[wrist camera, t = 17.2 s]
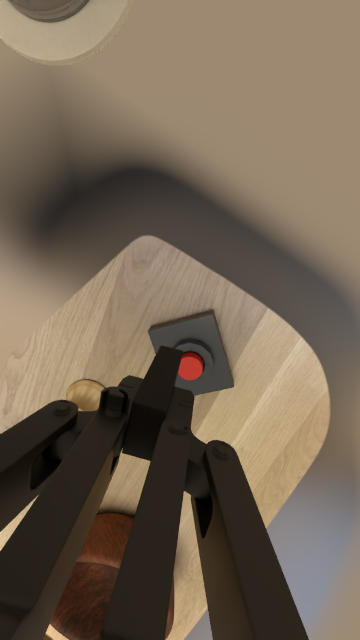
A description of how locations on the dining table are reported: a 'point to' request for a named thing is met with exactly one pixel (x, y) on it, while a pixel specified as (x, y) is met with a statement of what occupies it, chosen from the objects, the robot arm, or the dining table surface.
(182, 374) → the button
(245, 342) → the dining table surface
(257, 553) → the robot arm
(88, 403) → the hand bell
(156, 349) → the push button switch
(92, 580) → the wooden bowl
